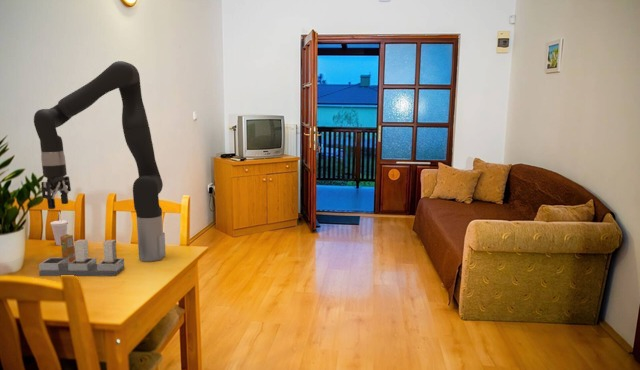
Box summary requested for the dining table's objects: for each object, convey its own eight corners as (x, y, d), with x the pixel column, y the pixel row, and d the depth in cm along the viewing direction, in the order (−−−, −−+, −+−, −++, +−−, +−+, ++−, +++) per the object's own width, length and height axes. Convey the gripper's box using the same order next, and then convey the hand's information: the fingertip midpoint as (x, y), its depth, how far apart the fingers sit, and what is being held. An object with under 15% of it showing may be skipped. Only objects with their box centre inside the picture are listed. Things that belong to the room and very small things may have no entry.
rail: (125, 267, 160) (123, 237, 158) (115, 276, 152) (113, 244, 150) (52, 267, 159) (49, 237, 157) (38, 275, 151) (35, 243, 149)
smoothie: (72, 242, 188) (70, 210, 185) (62, 246, 182) (60, 214, 179) (59, 241, 188) (56, 210, 186) (48, 245, 182) (45, 213, 180)
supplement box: (61, 261, 165) (59, 236, 163) (69, 258, 168) (67, 233, 166) (67, 262, 164) (65, 237, 162) (75, 259, 167) (73, 234, 165)
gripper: (52, 166, 153) (57, 210, 156) (74, 161, 167) (78, 202, 170) (31, 166, 153) (36, 210, 156) (54, 161, 167) (59, 202, 170)
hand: (58, 206), depth 163 cm, fingers open, 8 cm apart
